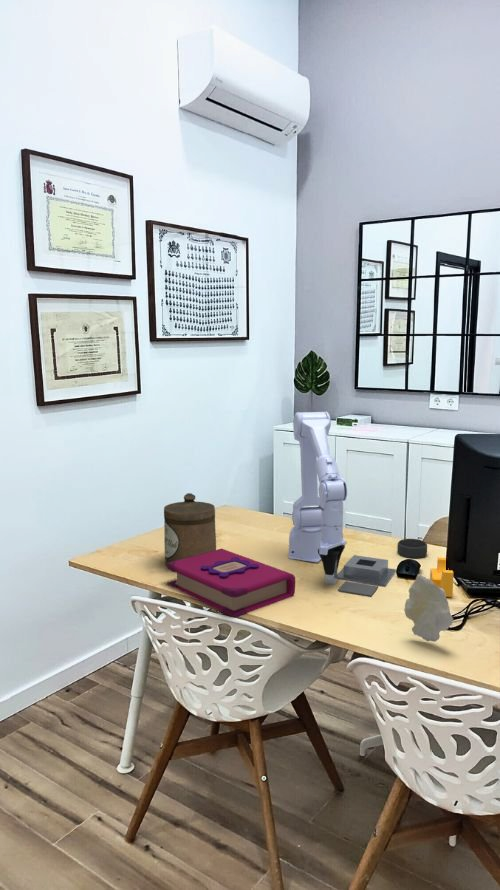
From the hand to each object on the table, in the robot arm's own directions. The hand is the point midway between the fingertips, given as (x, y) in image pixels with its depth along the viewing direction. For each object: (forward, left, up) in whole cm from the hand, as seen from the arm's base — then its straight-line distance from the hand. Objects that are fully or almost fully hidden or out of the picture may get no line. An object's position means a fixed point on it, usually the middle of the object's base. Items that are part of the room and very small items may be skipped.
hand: (331, 572), depth 176 cm
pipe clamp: (+27, +10, -3) cm, 29 cm away
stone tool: (+30, -24, -3) cm, 39 cm away
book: (-22, -17, -4) cm, 28 cm away
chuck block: (+7, +10, -3) cm, 13 cm away
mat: (+8, -1, -3) cm, 9 cm away
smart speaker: (+15, +34, -3) cm, 37 cm away
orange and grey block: (0, 0, -3) cm, 3 cm away
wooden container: (-41, -6, -3) cm, 41 cm away
